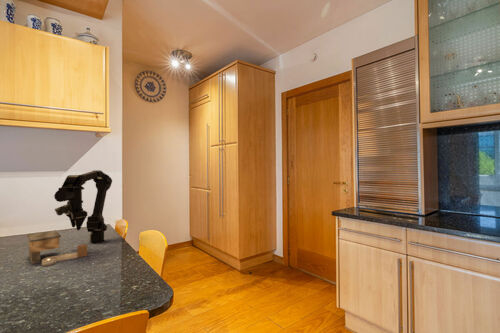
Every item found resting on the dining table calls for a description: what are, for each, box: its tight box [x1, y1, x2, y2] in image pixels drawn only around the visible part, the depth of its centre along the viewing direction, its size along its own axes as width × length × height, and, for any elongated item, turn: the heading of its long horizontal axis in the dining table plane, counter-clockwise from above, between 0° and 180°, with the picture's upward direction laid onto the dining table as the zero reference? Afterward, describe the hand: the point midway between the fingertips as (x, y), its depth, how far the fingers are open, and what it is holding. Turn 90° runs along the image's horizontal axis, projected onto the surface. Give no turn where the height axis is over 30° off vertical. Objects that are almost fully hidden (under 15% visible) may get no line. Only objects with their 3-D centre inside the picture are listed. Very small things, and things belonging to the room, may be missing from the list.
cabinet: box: [27, 230, 62, 265], centre depth 122 cm, size 11×15×11 cm
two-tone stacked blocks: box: [45, 243, 88, 262], centre depth 121 cm, size 16×5×5 cm, turn 122°
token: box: [41, 256, 57, 267], centre depth 113 cm, size 5×5×2 cm
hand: (75, 228), depth 131 cm, fingers open, 9 cm apart
